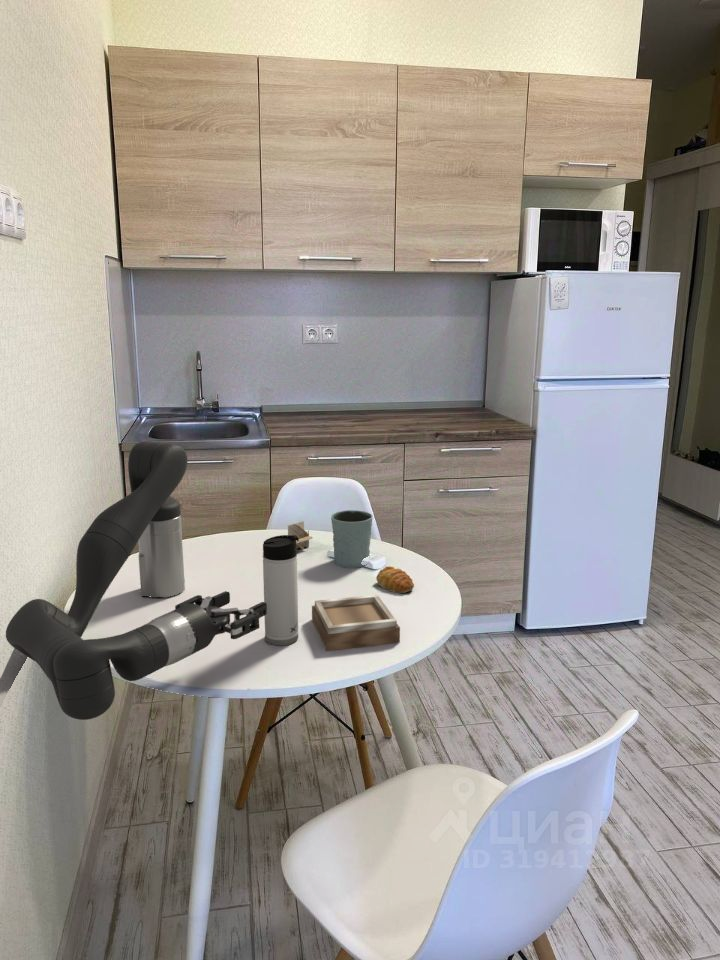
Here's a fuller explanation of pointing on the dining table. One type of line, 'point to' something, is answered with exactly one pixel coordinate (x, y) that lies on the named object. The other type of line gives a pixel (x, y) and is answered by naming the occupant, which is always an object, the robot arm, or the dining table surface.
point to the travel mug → (280, 589)
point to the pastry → (394, 580)
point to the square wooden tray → (354, 622)
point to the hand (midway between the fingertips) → (246, 602)
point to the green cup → (351, 537)
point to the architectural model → (299, 534)
